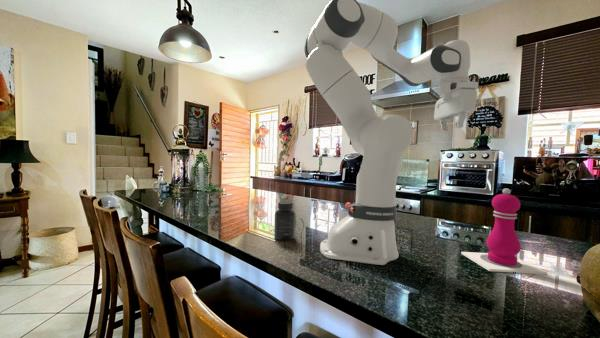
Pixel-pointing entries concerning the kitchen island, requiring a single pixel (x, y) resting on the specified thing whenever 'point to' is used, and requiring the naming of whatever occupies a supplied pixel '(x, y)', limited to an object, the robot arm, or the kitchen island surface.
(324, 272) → the kitchen island surface
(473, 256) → the white coaster
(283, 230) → the supplement bottle
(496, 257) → the pepper mill
